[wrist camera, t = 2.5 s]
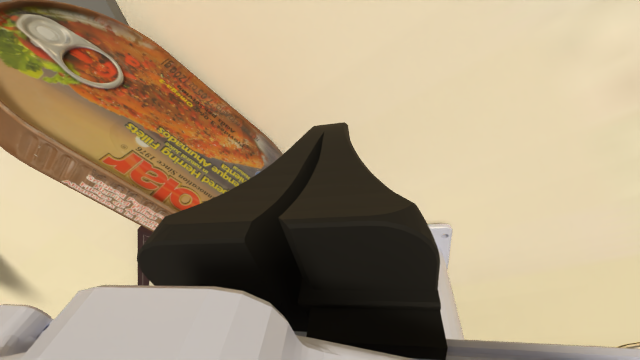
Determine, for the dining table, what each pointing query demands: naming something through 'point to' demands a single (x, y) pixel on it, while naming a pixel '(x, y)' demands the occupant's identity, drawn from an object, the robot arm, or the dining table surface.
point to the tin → (117, 114)
